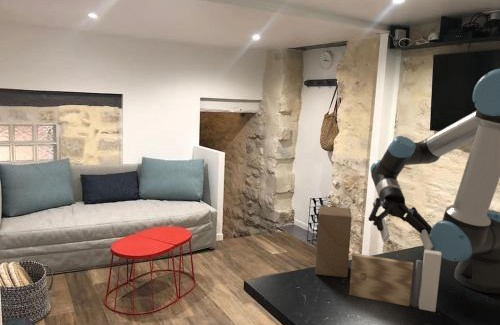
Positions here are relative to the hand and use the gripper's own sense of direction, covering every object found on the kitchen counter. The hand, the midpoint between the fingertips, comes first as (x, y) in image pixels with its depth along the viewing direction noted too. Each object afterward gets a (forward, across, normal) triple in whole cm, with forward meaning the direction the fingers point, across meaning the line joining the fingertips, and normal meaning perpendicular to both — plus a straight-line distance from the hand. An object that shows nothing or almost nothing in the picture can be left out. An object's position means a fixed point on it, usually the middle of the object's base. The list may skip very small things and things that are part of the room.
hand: (408, 244), depth 114 cm
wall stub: (+14, -6, -8) cm, 17 cm away
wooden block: (-5, +13, -24) cm, 28 cm away
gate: (+11, +5, -13) cm, 18 cm away
